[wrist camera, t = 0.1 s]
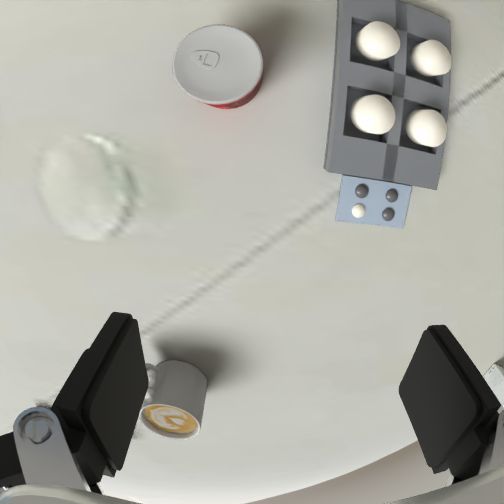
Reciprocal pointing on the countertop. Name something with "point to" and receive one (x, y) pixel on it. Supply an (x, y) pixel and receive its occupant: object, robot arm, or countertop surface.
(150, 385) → the coffee mug
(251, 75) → the canned food
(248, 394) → the countertop surface
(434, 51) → the button
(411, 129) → the button
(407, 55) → the button board
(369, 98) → the button
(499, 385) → the skincare box
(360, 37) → the button
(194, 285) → the countertop surface
